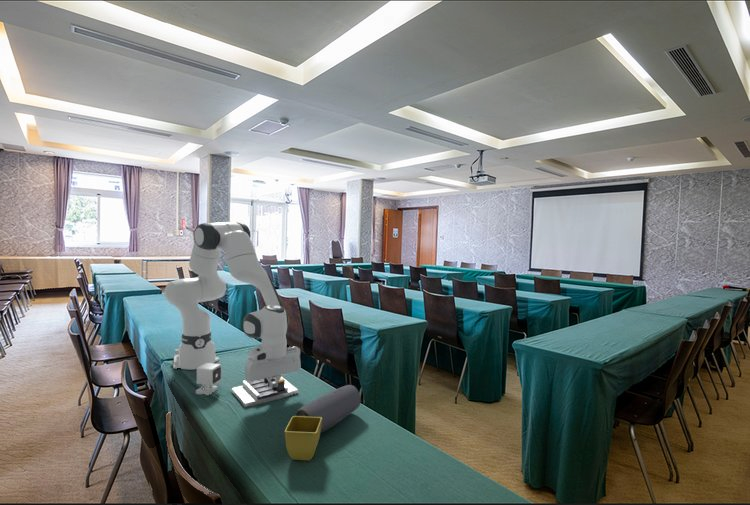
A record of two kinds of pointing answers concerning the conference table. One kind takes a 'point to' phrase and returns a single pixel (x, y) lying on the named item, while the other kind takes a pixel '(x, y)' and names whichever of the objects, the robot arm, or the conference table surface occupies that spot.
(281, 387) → the handle
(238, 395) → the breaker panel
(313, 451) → the flower pot
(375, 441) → the conference table surface
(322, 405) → the bluetooth speaker
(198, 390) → the security camera
